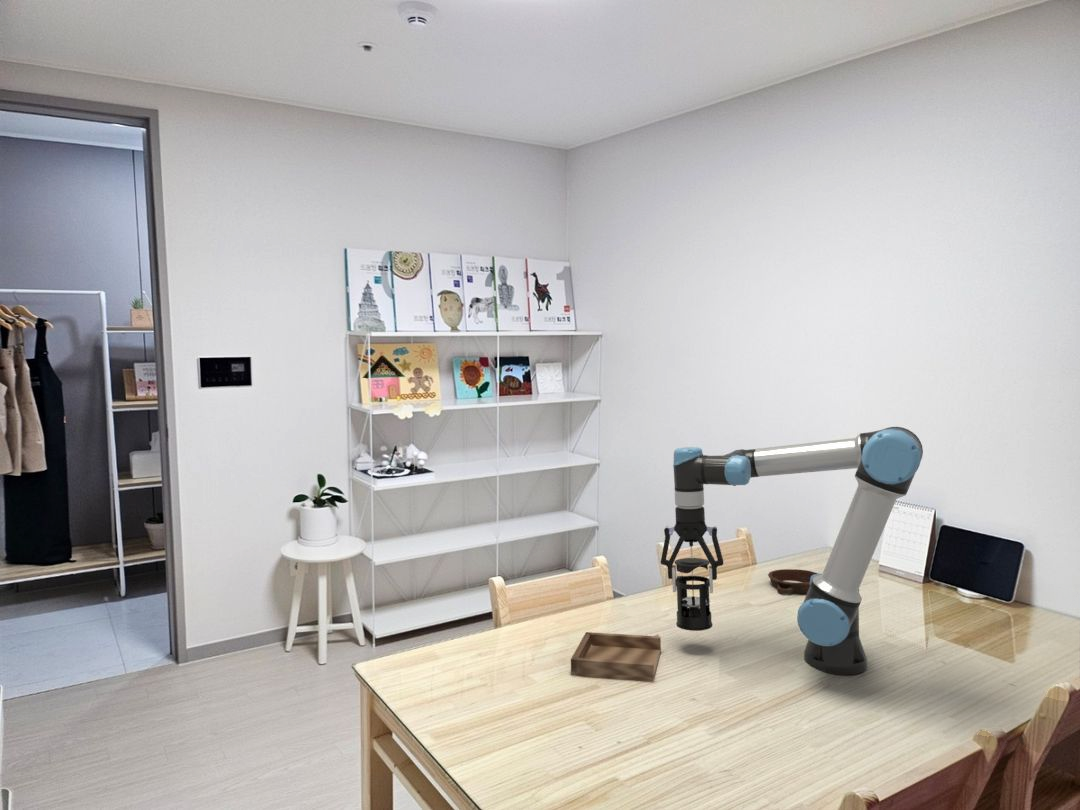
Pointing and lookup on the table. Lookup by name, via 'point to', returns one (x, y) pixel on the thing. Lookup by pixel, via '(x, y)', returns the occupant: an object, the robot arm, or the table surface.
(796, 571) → the dish
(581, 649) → the wooden tray
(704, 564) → the french press
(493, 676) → the table surface
